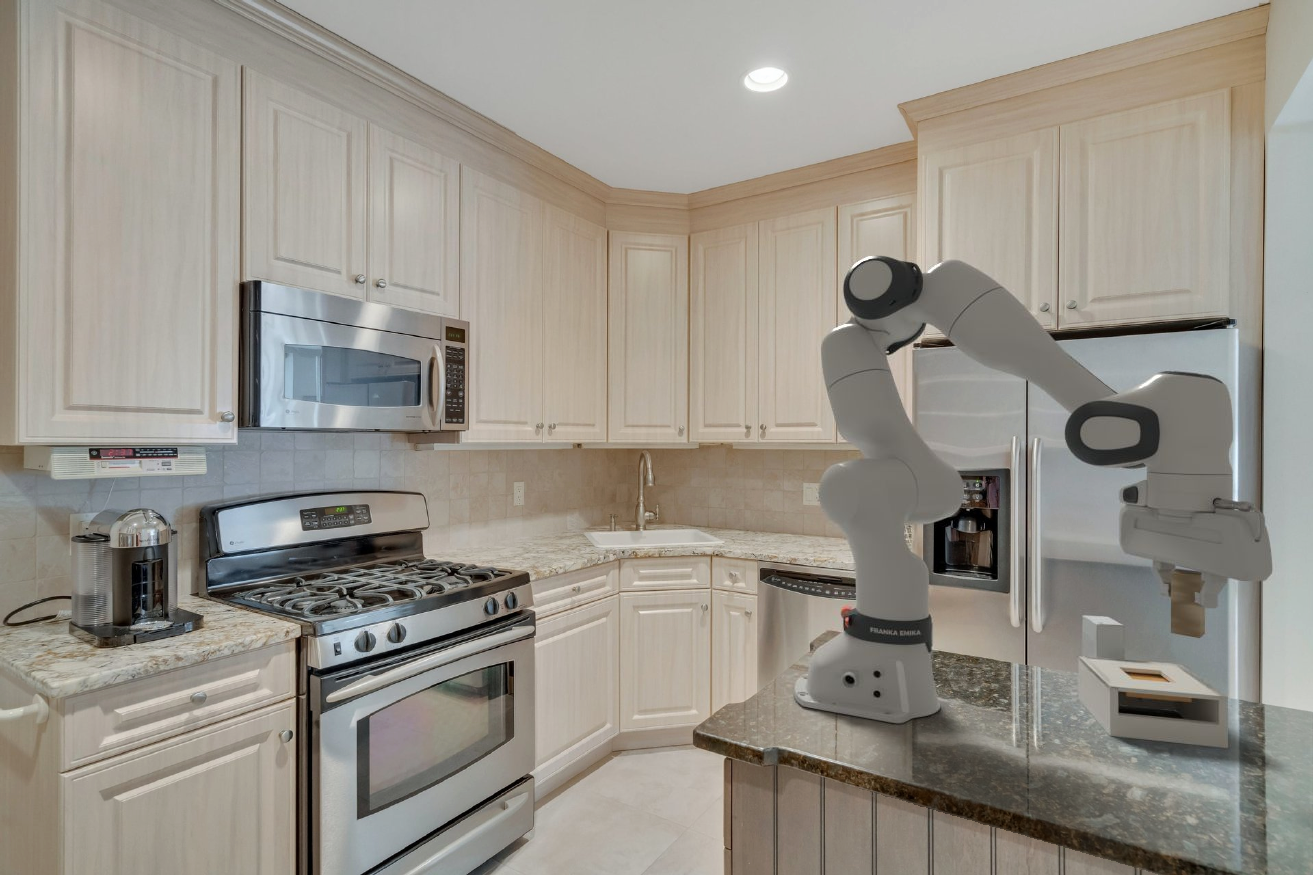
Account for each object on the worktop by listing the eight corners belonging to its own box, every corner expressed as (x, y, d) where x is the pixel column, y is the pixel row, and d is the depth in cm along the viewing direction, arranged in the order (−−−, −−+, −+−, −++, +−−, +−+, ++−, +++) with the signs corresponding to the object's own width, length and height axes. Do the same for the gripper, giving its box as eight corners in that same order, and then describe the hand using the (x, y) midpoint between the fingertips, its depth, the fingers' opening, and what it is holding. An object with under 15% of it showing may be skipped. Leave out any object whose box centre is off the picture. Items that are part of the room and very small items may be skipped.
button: (1126, 707, 98) (1126, 687, 98) (1106, 687, 106) (1106, 670, 106) (1191, 713, 96) (1191, 693, 96) (1166, 693, 104) (1166, 674, 104)
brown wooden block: (1170, 632, 89) (1171, 571, 89) (1176, 628, 91) (1176, 568, 91) (1199, 638, 86) (1200, 575, 86) (1204, 633, 88) (1205, 572, 88)
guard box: (1110, 735, 96) (1110, 686, 96) (1078, 699, 110) (1078, 656, 110) (1227, 748, 92) (1227, 696, 93) (1180, 708, 106) (1180, 664, 106)
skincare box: (1125, 699, 110) (1125, 625, 110) (1096, 697, 111) (1096, 624, 111) (1108, 686, 116) (1108, 615, 116) (1081, 684, 117) (1081, 614, 117)
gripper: (1289, 503, 78) (1288, 623, 78) (1151, 489, 99) (1151, 584, 99) (1236, 503, 78) (1236, 623, 78) (1109, 489, 98) (1109, 584, 98)
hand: (1187, 601), depth 89 cm, fingers closed on brown wooden block, 4 cm apart
